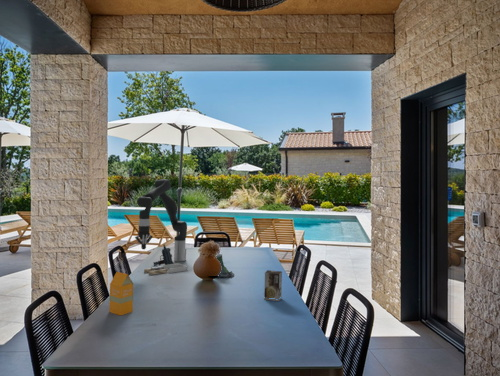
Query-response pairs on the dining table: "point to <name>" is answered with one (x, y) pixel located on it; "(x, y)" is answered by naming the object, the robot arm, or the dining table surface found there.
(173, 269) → the tray
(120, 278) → the orange juice
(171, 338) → the dining table surface
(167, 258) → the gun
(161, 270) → the slotted rail
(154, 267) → the dark gray rectangular block
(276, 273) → the coffee box
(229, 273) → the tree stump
